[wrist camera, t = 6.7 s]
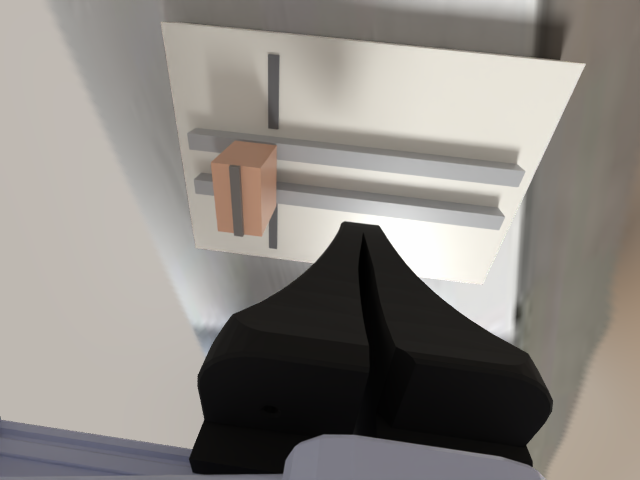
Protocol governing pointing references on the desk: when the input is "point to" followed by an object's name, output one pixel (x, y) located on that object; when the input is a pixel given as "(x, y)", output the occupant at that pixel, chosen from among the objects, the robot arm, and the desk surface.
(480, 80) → the white slider track board
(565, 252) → the desk surface
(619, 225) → the desk surface
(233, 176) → the fader
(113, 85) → the desk surface
